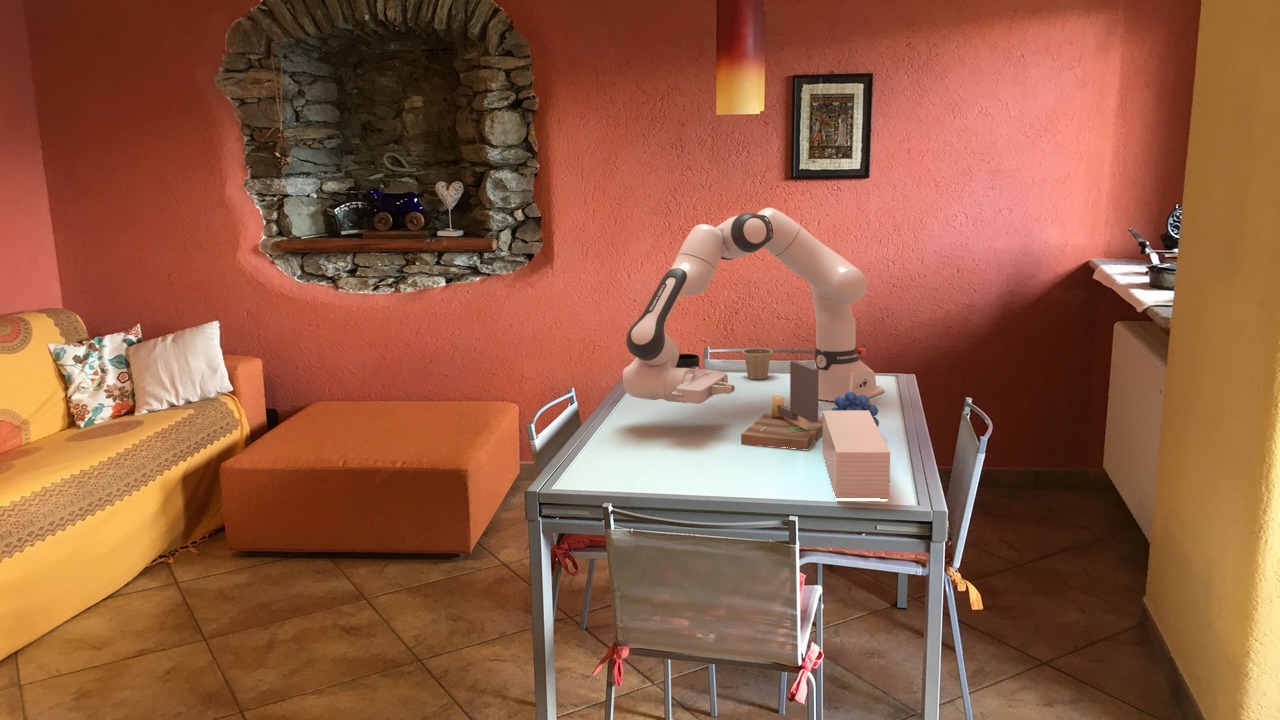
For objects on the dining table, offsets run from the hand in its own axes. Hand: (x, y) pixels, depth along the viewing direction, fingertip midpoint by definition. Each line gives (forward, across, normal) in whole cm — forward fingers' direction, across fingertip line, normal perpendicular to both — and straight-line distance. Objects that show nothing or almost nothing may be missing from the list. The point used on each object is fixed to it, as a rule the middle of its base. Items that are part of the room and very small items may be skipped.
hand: (732, 389), depth 241 cm
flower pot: (-14, +63, +12) cm, 65 cm away
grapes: (+29, +7, +12) cm, 33 cm away
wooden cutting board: (+12, +5, +12) cm, 18 cm away
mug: (-32, +45, +12) cm, 57 cm away
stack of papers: (+35, -20, +13) cm, 42 cm away
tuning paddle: (+14, +6, +9) cm, 18 cm away
